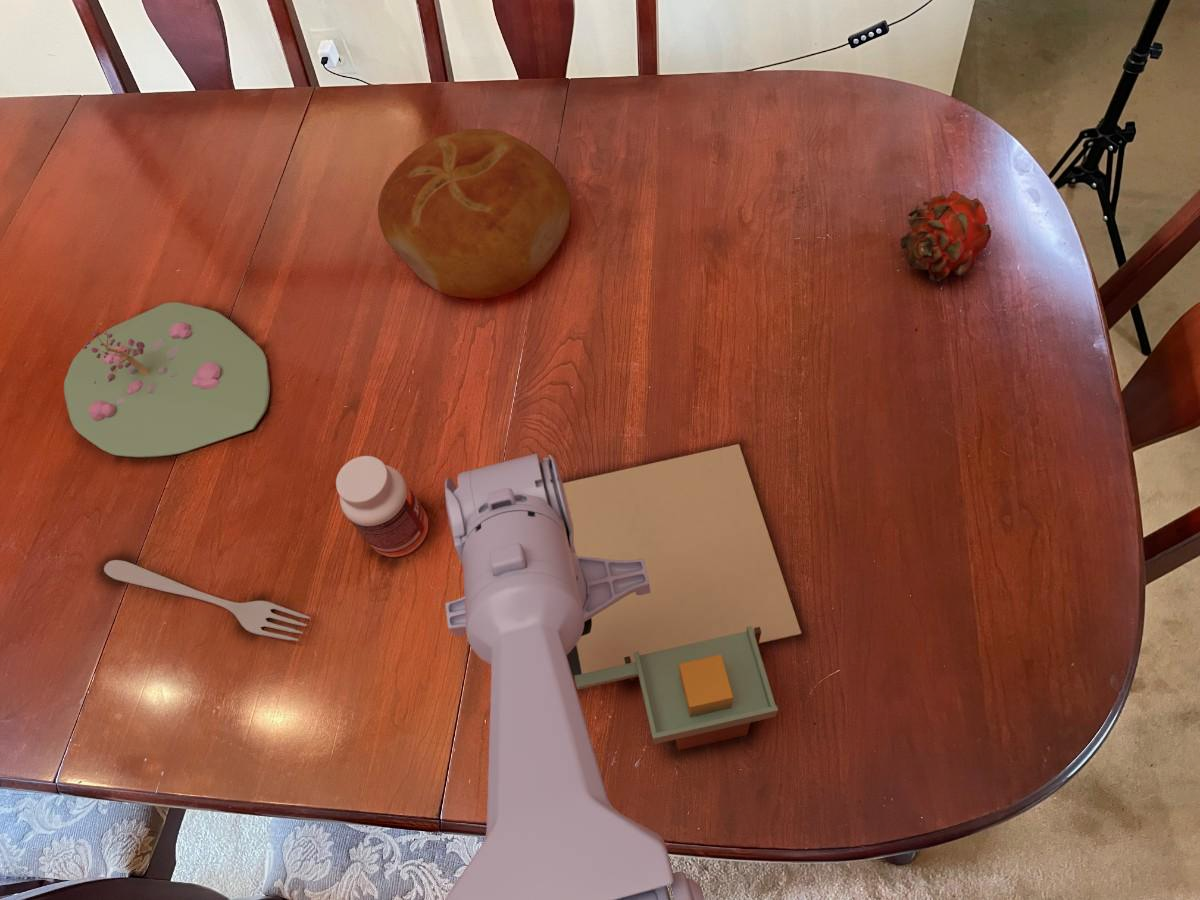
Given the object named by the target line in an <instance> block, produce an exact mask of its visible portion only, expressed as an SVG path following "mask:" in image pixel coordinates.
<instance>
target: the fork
mask: <svg viewBox="0 0 1200 900" xmlns="http://www.w3.org/2000/svg"><path fill="white" fill-rule="evenodd" d="M103 571H104V573H105V574H106V575H107V576H108V577H110V578H112V579H113V580H116V581H120V582H123V583H127V584H130V585H131V584H132V585H136V586H140V587H144V588H147V589H151V590H156V591H160V592H164V593H170V594H173V595H174V594H175V595H179V596H184V597H189V598H193V599H197V600H200V601H203V602H207V603H211V604H214V605H217V606H220V607H221V608H223V609H226V610H227V611H229V612H230V613H232V614H233V615H234V617H236V619H237V621H238V622H239V624H240V625H241V627H242V628H244V630H246V631H247V632H249V633H251V634H255V635H259V636H263V637H264V636H265V637H270V638H275V639H281V640H285V641H286V640H287V641H295V642H298V641H299V638H296V637H293V636H290V635H286V634H282V633H277V632H272V631H268V630H267V631H266V630H265V629H264V630H263V629H262V628H264V627H265V628H271V629H275V630H279V631H284V632H289V633H294V634H300V635H302V634H303V631H301V630H298V629H296V628H292V627H289V626H285V625H282V624H278V623H274V622H271V621H268V620H267V619H273V620H276V621H280V622H285V623H288V624H292V625H296V626H301V627H307V626H308V624H306V623H303V622H301V621H299V620H297V619H293V618H289V617H286V616H283V615H281V614H277V613H274V612H272V610H275V611H279V612H282V613H285V614H289V615H292V616H294V617H297V618H303V619H307V620H310V619H311V616H309V615H306V614H303V613H301V612H299V611H295V610H293V609H290V608H287V607H284V606H281V605H279V604H277V603H273V602H271V601H268V600H253V601H247V602H237V601H236V602H235V601H230V600H227V599H223V598H221V597H217V596H215V595H211V594H208V593H205V592H202V591H200V590H197V589H195V588H192V587H190V586H187V585H185V584H182V583H181V582H179V581H178V582H177V581H175V580H173V579H170V578H168V577H166V576H163V575H161V574H158V573H156V572H153V571H150V570H149V569H146V568H144V567H142V566H139V565H137V564H134V563H132V562H129V561H126V560H121V559H120V560H119V559H114V560H113V559H112V560H110V561H107V563H105V565H104V567H103Z"/></svg>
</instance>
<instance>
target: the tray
mask: <svg viewBox="0 0 1200 900" xmlns="http://www.w3.org/2000/svg"><path fill="white" fill-rule="evenodd" d="M720 654H721V655H722V658H723V661H724V665H725V669H726V672H727V676H728V680H729V683H730V687H731V690H732V694H733V702H732V708H729V709H724V710H720V711H716V712H711V713H707V714H702V715H698V716H694V717H690V716H689V712H688V708H687V704H686V700H685V696H684V692H683V688H682V684H681V680H680V676H679V664H681V663H685V662H689V661H694V660H698V659H703V658H707V657H712V656H716V655H720ZM566 656H567V660H568V663H569V666H570V670H571V673H572V677H573V679H574V683H575V687H576V690H577V691H579V690H583V689H588V688H592V687H596V686H601V685H605V684H611V683H614V682H619V681H623V680H627V679H629V678H632V677H635V678H636V677H637V678H638V679H639V684H640V688H641V692H642V693H641V694H642V697H643V702H644V706H645V710H646V715H647V720H648V725H649V729H650V733H651V738H652V742H653V745H656V744H661V743H666V742H670V741H676V739H679V738H684V737H688V736H693V735H697V734H701V733H706V732H710V731H715V730H719V729H723V728H728V727H732V726H737V725H741V724H745V723H750V724H751V723H754V722H759V721H762V720H767V719H771V718H776V717H777V714H778V712H779V708H778V705H777V704H776V702H775V699H774V695H773V692H772V688H771V686H770V685H771V684H770V682H769V678H768V675H767V672H766V669H765V665H764V662H763V658H762V655H761V652H760V649H759V645H757V641H756V638H755V635H754V631H753V628H752V626H748V627H747V631H746V632H741V633H737V634H732V635H728V636H724V637H719V638H715V639H710V640H706V641H701V642H697V643H693V644H688V645H684V646H679V647H675V648H670V649H666V650H661V651H657V652H653V653H648V654H644V655H639V652H634V657H635V662H633V663H628V664H624V665H620V666H615V667H611V668H606V669H602V670H597V671H593V672H589V673H584V674H582V671H581V665H580V660H579V655H578V649H577V644H576V645H575V647H574V648H573V649H572V650H571V651H570V652H569V653H568V654H567V655H566Z"/></svg>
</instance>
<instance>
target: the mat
mask: <svg viewBox="0 0 1200 900" xmlns="http://www.w3.org/2000/svg"><path fill="white" fill-rule="evenodd" d="M563 486H564V489H565V493H566V497H567V501H568V505H569V509H570V513H571V518H572V522H573V527H574V547H575V551H576V554H577V556H581V557H590V558H599V559H608V560H619V561H630V560H637V559H644V563H645V567H646V571H647V575H648V579H649V584H650V593H648V594H644V595H637V594H636V593H635V592H633V593H631V594H629V595H627V596H626V597H624V598H622V599H621V600H619V601H617V602H616V603H614V604H613V605H611V606H609V607H608V608H606V609H604V610H603V611H601V612H600V613H598V614H596V615H595V616H593V617H592V618H591V620H592V627H591V631H590V633H589V634H586V635H584V636H581V637H580V639H579V641H578V642H577V649H578V655H579V660H580V665H581V671H582V674H584V673H589V672H593V671H597V670H602V669H606V668H611V667H615V666H620V665H624V664H625V660H624V657H628V656H630V659H631V663H633V662H635V657H634V652H639V655H644V654H648V653H653V652H657V651H661V650H666V649H670V648H675V647H679V646H684V645H688V644H693V643H697V642H701V641H706V640H710V639H715V638H719V637H724V636H728V635H732V634H737V633H741V632H746V631H747V627H748V626H752V628H753V631H754V628H756V627H760V629H761V636H760V641H759V645H760V644H763V643H769V642H773V641H777V640H781V639H786V638H790V637H794V636H795V637H796V636H799V635H802V630H801V628H800V625H799V622H798V619H797V616H796V613H795V610H794V606H793V604H792V601H791V597H790V594H789V591H788V588H787V585H786V581H785V580H784V575H783V574H782V570H781V567H780V565H779V561H778V558H777V555H776V552H775V549H774V546H773V542H772V540H771V537H770V534H769V531H768V528H767V524H766V521H765V518H764V515H763V513H762V510H761V507H760V503H759V500H758V497H757V494H756V491H755V489H754V485H753V482H752V479H751V477H750V472H749V470H748V467H747V464H746V461H745V457H744V455H743V452H742V449H741V445H740V443H737V444H733V445H728V446H724V447H723V446H722V447H719V448H715V449H710V450H706V451H702V452H697V453H696V452H695V453H693V454H688V455H683V456H679V457H673V458H670V459H665V460H661V461H656V462H653V463H648V464H643V465H639V466H634V467H629V468H626V469H621V470H616V471H612V472H607V473H603V474H598V475H594V476H589V477H585V478H580V479H576V480H575V479H574V480H571V481H567V482H563Z"/></svg>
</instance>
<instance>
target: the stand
mask: <svg viewBox="0 0 1200 900" xmlns="http://www.w3.org/2000/svg"><path fill="white" fill-rule="evenodd" d="M754 635H755V638H756V641H757V645H758V646H759V645H760V644H759V641H760V636H761V629H760V627H756V628H754ZM624 660H625V664H628V663H631V659H630V656H628V657H624ZM628 679H629V682H635V681H636V677H632V678H628ZM750 726H751V722H750V723H745V724H741V725H737V726H732V727H728V728H723V729H719V730H715V731H710V732H706V733H701V734H697V735H693V736H688V737H684V738H679V739H675V742H676V747H677V750H678V751H683V750H686V749H690V748H697V747H700V746H704V745H709V744H713V743H716V742H717V743H718V742H722V741H726V740H730V739H735V738H739V737H742V736H747V735H748V732H749V729H750Z"/></svg>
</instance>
